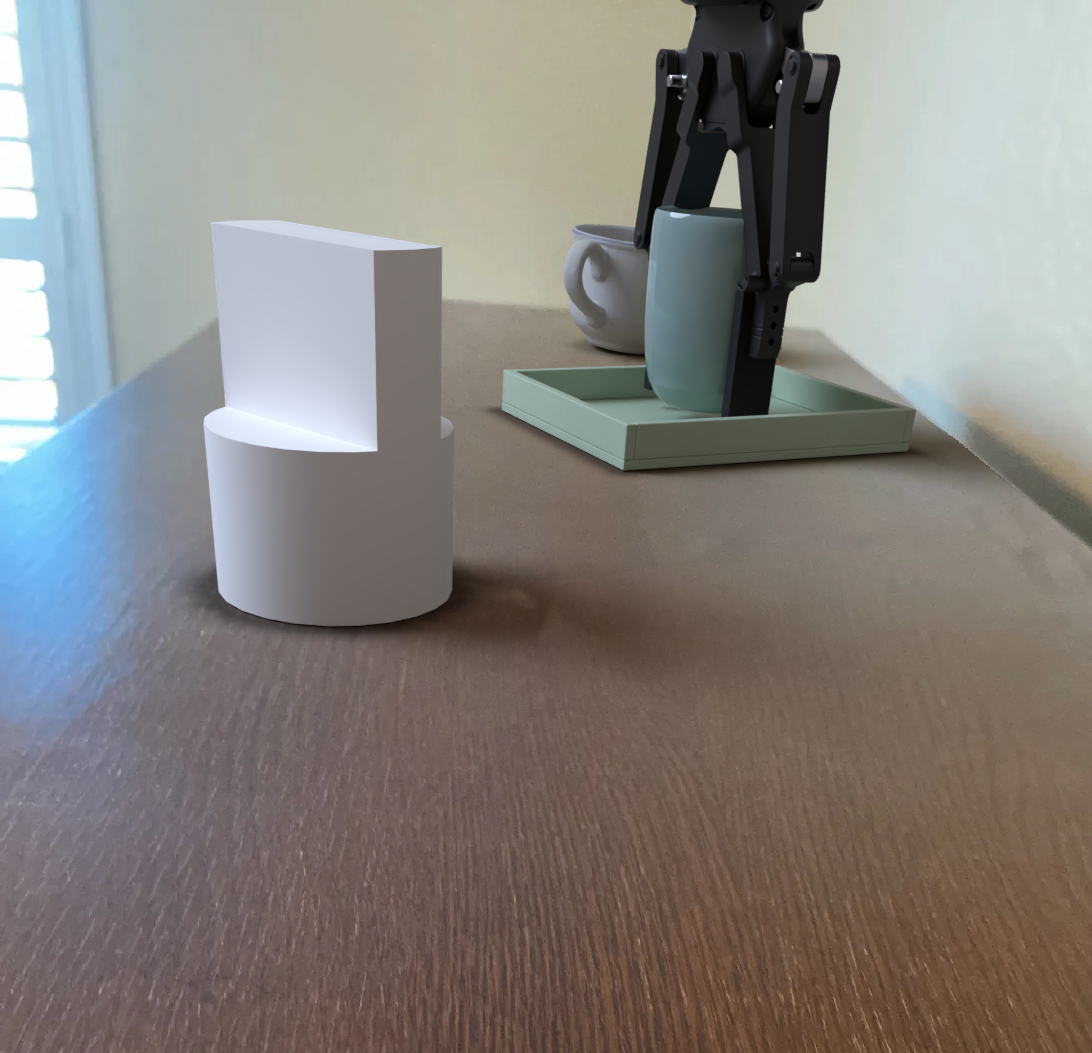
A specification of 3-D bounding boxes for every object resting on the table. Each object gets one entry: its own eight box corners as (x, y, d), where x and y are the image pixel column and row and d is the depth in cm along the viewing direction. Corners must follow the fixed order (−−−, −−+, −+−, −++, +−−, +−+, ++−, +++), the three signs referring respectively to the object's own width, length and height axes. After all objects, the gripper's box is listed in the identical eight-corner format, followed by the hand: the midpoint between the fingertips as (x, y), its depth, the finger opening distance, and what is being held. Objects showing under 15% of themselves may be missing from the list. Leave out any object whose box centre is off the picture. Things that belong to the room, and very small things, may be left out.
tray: (761, 398, 87) (766, 361, 86) (908, 451, 76) (916, 409, 75) (501, 410, 80) (502, 369, 78) (623, 471, 69) (626, 424, 67)
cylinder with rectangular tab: (499, 591, 51) (511, 244, 45) (322, 644, 46) (304, 255, 39) (347, 538, 56) (337, 217, 49) (170, 580, 50) (130, 223, 44)
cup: (753, 427, 73) (781, 223, 68) (621, 410, 75) (637, 210, 69) (779, 403, 79) (806, 214, 74) (655, 388, 81) (673, 202, 76)
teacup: (638, 333, 108) (647, 222, 103) (733, 356, 101) (747, 238, 96) (505, 344, 100) (509, 224, 95) (598, 369, 93) (607, 241, 89)
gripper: (593, -86, 70) (566, 371, 83) (825, -117, 55) (749, 447, 68) (710, -71, 73) (667, 368, 86) (961, -97, 58) (863, 440, 71)
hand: (703, 402), depth 77 cm, fingers closed on cup, 8 cm apart
